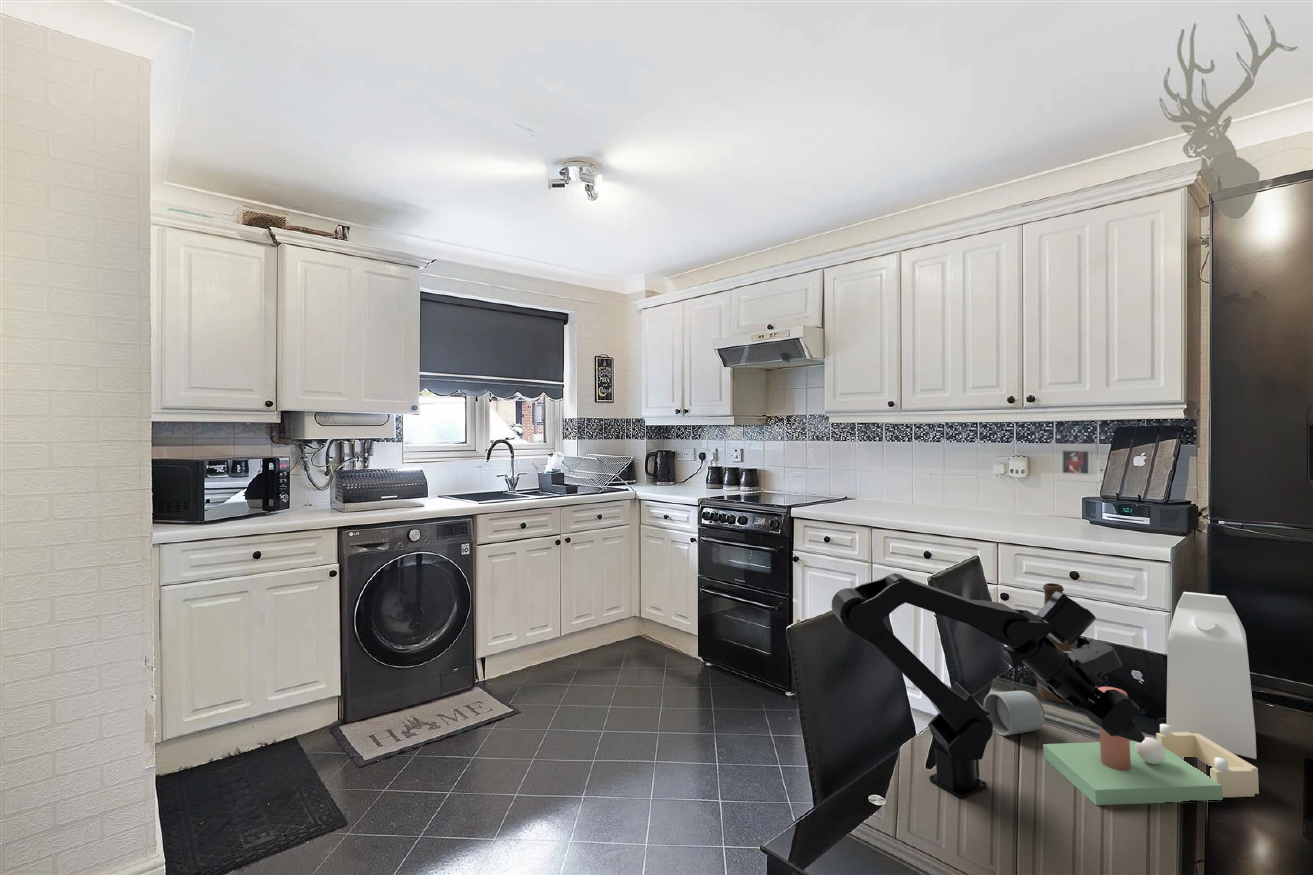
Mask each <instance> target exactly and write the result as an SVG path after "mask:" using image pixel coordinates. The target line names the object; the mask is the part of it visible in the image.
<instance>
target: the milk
mask: <svg viewBox="0 0 1313 875" xmlns="http://www.w3.org/2000/svg"><path fill="white" fill-rule="evenodd" d="M1166 657H1167V658H1166V660H1167V663H1166V664H1167V666H1166V668H1167V669H1166V670H1167V671H1166V680H1167V681H1166V720H1165V721H1166V723H1165V724H1167V725H1170V726H1171V727H1172V732H1190V733H1191V734H1192V733H1199V734H1201V735H1202V736H1204V737H1206V738H1207V739H1209V740H1211V741H1212V742H1214V743H1216V744H1218V745H1219V746H1221V747H1223V748H1224V749H1226V750H1228V751H1229V752H1231V753H1233V754H1234V755H1236V756H1241V757H1246V758H1249V759H1253V760H1257V743H1256V742H1257V737H1256V736H1257V735H1256V725H1255V723H1256V722H1255V716H1254V715H1255V714H1254V702H1253V696H1252V686H1251V684H1252V683H1251V675H1250V674H1251V673H1250V666H1249V665H1250V664H1249V663H1250V662H1249V653H1248V643H1247V634H1246V630H1245V628H1244V626H1243V624H1242V621H1241V620H1240V617H1239V616H1238V613H1237V612H1236V610H1235V608H1234V607H1233V605H1232V604H1231V602H1230V600H1229V599H1228V597H1227V596H1226V595H1220V594H1219V595H1218V594H1211V593H1210V594H1209V593H1199V592H1192V591H1191V592H1190V591H1189V592H1188V591H1183V592H1182V595H1181V596H1180V599H1179V600H1178V603H1177V605H1176V607H1175V610H1174V614H1173V618H1172V620H1171V624H1170V628H1169V632H1168V637H1167V655H1166Z"/></svg>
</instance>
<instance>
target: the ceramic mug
mask: <svg viewBox="0 0 1313 875" xmlns="http://www.w3.org/2000/svg"><path fill="white" fill-rule="evenodd" d="M983 707H984V708H985V709H986V710H987V711H988V712H989V713H990V715H987V717H988V718H989V719H990V720H991V722H992V724H993V732H995V733H996V734H998V735H1000V736H1005V737H1007V736H1012V735H1018V734H1023V733H1029V732H1035V731H1038V730H1039V729H1041V728H1042V727H1043V726H1044V723H1045V720H1046V716H1045V714H1046V713H1045V710H1044V706H1043V705H1042V703H1041V701H1040V700H1039V699H1038V697H1037V696H1036V695H1034V694H1033V693H1031V692H1029V691H1026V690H1011V691H1009V690H1008V691H993V692H989V693H988V694H987V695H986V696H985V697H984V700H983Z"/></svg>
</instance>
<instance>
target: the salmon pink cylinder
mask: <svg viewBox="0 0 1313 875" xmlns="http://www.w3.org/2000/svg"><path fill="white" fill-rule="evenodd" d="M1097 689H1099V690H1101V691H1102V692H1105V691H1106V690H1113V689H1115V690H1117V691H1119V692H1120V693H1122V694H1124V695H1125V696H1127V697H1128V693H1127V692H1126V691H1125V690H1123V689H1121V688H1117V687H1113V686H1100V687H1097ZM1097 697H1098V696H1097ZM1098 698H1100V697H1098ZM1098 730H1099V731H1098V732H1099V742H1100V753H1101V762H1102V763H1103V764H1104V765H1105V766H1107V767H1109V768H1112V769H1116V770H1129V769H1130V768H1131V761H1130V741H1131V740H1130V739H1126V738H1123V737H1120V736H1110V735H1109V734H1108V733H1106V732H1105V731H1103V730H1102V729H1101V728H1099V727H1098Z"/></svg>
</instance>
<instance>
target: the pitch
mask: <svg viewBox="0 0 1313 875" xmlns="http://www.w3.org/2000/svg"><path fill="white" fill-rule="evenodd" d="M1135 745H1136V741H1133V740H1130V761H1131V768H1130V769H1129V770H1116V769H1112V768H1109V767H1107V766H1105V765H1104V764H1103V763H1102V762H1101V753H1100V741H1094V742H1069V743H1068V742H1065V743H1044V744H1042V747H1043V748H1042V750H1043V759H1044V760H1045V761H1047V762H1048V763H1049V764H1050V765H1051V766H1052V767H1054V768H1055V769H1056V770H1057V771H1058V772H1059V774H1061V775H1062V776H1064V778H1066V779H1067V780H1068V781H1069V782H1070V783H1071V784H1072V785H1073V786H1074V787H1075V788H1076V789H1078V790H1079V792H1081V793H1082V794H1083V795H1084V796H1085V797H1086V798H1087V799H1089V800H1090V801H1091V802H1092V803H1093V804H1094V805H1095V806H1109V805H1111V806H1112V805H1136V804H1137V805H1139V804H1142V805H1143V804H1144V805H1145V804H1166V803H1165V802H1174V803H1183V802H1182V801H1190V800H1193V801H1194V800H1219V801H1218V802H1221V801H1220V800H1223V798H1224V797H1222V785H1221V784H1219V783H1218V782H1216V781H1214V780H1213V779H1211V778H1210V777H1209V776H1207V775H1206V774H1204V773H1203V772H1201V771H1200V770H1198V769H1197V768H1195V767H1193V766H1192V765H1190V764H1189V763H1187V762H1186V761H1184V760H1183V759H1181V758H1180V757H1178V756H1177V755H1175V754H1174V753H1172V752H1171V751H1169V750H1168V749H1166V748H1165V747H1164V748H1165V751H1166V758H1165V760H1164V761H1163V762H1162V763H1159V764H1150V763H1147V762H1145V761H1144V760H1142V759H1141V758H1140V757H1139V756H1138V754H1137V752H1136V749H1135Z"/></svg>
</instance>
